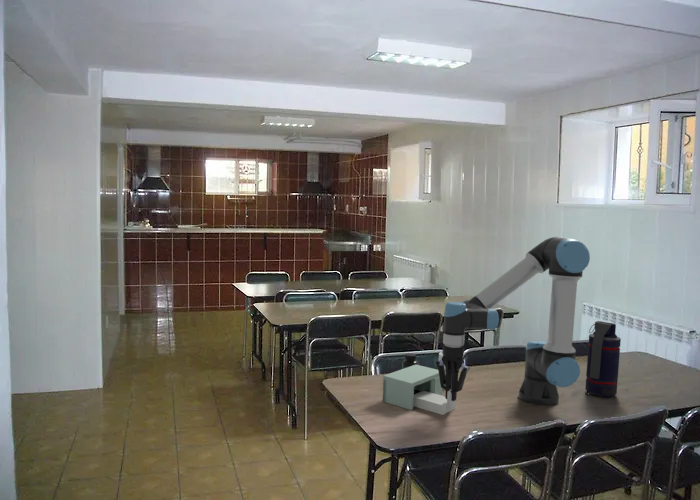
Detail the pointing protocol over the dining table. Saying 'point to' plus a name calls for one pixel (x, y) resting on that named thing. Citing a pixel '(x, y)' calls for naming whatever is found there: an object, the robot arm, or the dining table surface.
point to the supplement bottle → (409, 360)
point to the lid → (431, 402)
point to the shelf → (410, 385)
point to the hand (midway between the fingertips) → (450, 408)
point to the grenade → (603, 360)
